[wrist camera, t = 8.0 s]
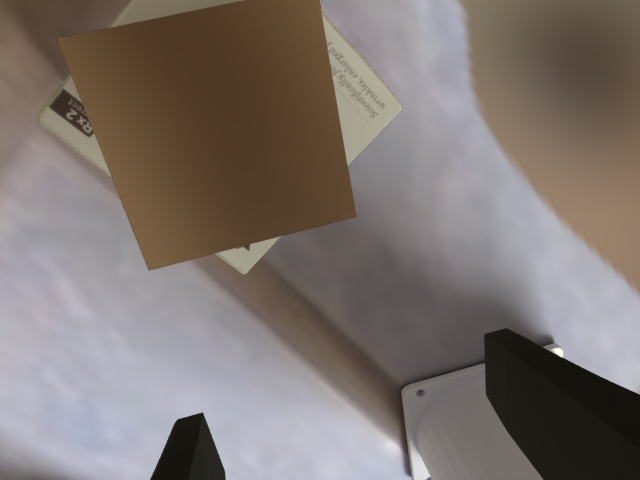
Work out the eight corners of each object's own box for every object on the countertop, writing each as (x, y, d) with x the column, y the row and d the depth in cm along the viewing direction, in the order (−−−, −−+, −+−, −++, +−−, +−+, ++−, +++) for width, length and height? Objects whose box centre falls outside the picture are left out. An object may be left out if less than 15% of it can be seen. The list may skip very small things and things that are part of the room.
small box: (365, 91, 19) (411, 110, 15) (237, 227, 21) (244, 283, 16) (215, -74, 16) (216, -116, 12) (74, 99, 17) (24, 123, 13)
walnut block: (288, -2, 13) (316, -15, 9) (322, 173, 15) (356, 216, 11) (102, 37, 12) (56, 38, 9) (165, 212, 14) (148, 270, 11)
